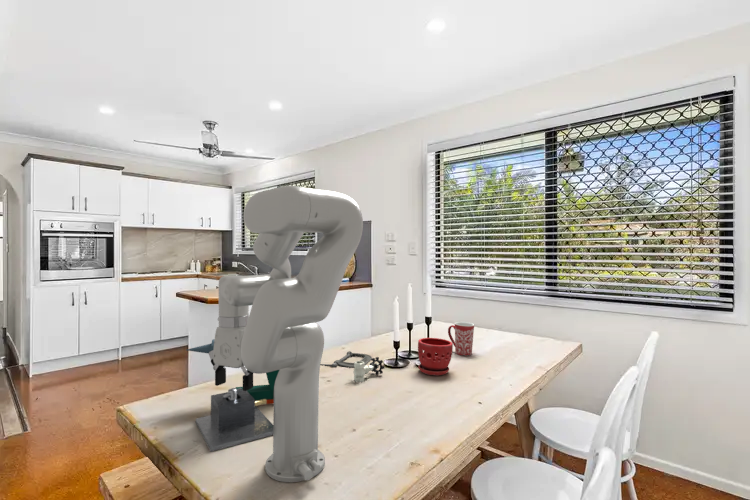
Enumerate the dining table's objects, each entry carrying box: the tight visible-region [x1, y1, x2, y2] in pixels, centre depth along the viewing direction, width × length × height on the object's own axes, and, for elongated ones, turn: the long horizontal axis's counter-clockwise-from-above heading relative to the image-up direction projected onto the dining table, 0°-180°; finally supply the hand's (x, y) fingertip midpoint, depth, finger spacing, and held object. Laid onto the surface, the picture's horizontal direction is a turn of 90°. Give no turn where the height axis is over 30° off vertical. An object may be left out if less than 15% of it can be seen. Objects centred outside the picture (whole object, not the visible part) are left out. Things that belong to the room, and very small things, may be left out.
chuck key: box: [223, 387, 242, 401], centre depth 104 cm, size 6×2×8 cm, turn 154°
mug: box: [447, 321, 475, 356], centre depth 178 cm, size 13×9×14 cm
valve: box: [353, 356, 385, 383], centre depth 142 cm, size 7×7×12 cm
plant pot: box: [417, 337, 454, 376], centre depth 150 cm, size 13×13×12 cm
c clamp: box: [320, 350, 373, 369], centre depth 162 cm, size 20×17×3 cm
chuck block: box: [195, 389, 273, 453], centre depth 102 cm, size 18×17×7 cm
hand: (234, 386), depth 104 cm, fingers open, 9 cm apart
